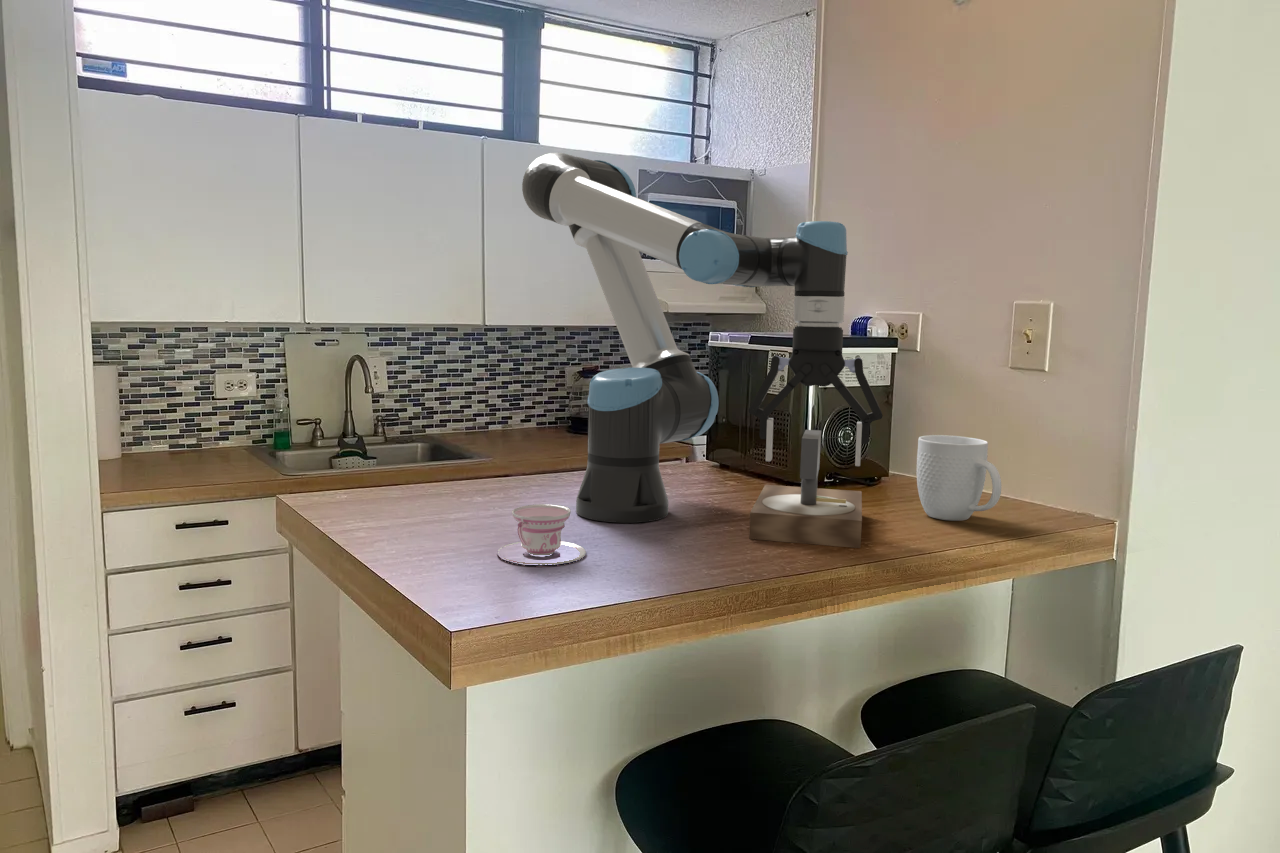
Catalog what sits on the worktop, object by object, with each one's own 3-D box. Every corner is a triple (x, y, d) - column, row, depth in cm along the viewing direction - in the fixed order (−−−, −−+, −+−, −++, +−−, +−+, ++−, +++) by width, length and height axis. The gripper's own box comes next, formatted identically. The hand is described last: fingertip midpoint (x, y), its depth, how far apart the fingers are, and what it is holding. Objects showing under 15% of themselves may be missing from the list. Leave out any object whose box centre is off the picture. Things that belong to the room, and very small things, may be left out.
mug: (1017, 524, 147) (1023, 445, 145) (974, 532, 141) (980, 449, 139) (941, 506, 159) (946, 433, 157) (899, 513, 153) (904, 437, 151)
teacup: (532, 539, 131) (533, 497, 130) (602, 552, 125) (603, 509, 124) (478, 558, 121) (478, 513, 120) (551, 573, 115) (552, 526, 114)
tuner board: (749, 538, 134) (750, 510, 133) (764, 507, 155) (765, 482, 154) (860, 548, 130) (862, 518, 129) (860, 514, 151) (861, 489, 151)
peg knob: (798, 509, 134) (801, 438, 133) (802, 496, 144) (805, 429, 143) (845, 513, 133) (849, 440, 131) (846, 499, 142) (849, 432, 141)
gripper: (733, 323, 138) (729, 461, 140) (904, 327, 132) (896, 470, 134) (739, 323, 145) (736, 454, 147) (901, 326, 139) (894, 462, 142)
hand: (812, 462), depth 141 cm, fingers open, 13 cm apart
